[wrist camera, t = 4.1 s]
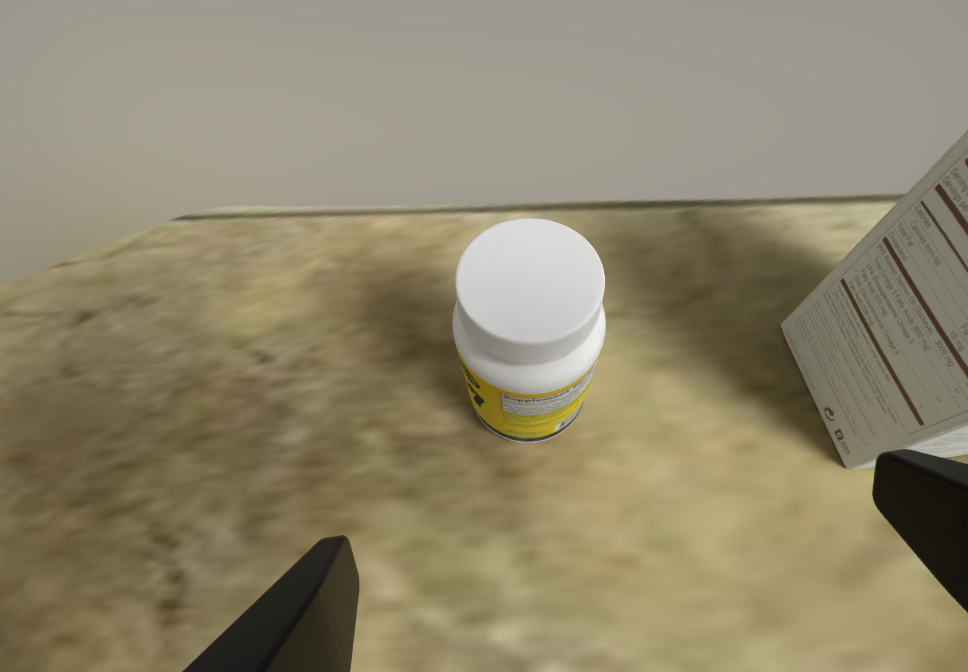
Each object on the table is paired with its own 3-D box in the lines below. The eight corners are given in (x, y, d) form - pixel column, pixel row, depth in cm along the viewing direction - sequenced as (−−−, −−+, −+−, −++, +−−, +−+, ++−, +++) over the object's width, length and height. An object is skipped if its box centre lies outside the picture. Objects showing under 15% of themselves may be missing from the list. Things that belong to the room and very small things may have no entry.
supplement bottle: (466, 343, 25) (437, 212, 16) (573, 333, 25) (602, 195, 16) (473, 452, 22) (443, 364, 13) (593, 441, 22) (640, 345, 13)
